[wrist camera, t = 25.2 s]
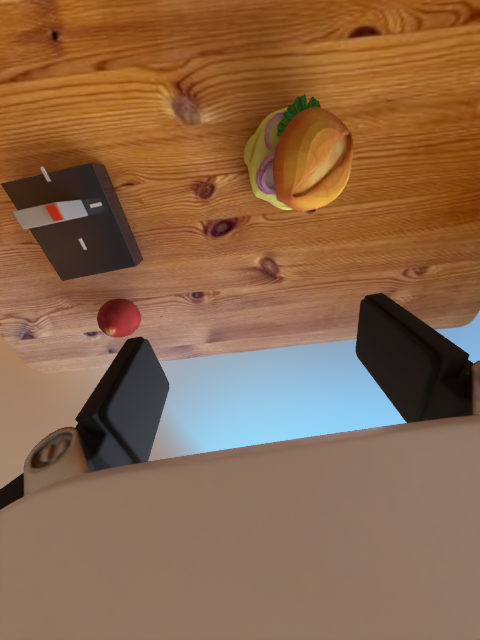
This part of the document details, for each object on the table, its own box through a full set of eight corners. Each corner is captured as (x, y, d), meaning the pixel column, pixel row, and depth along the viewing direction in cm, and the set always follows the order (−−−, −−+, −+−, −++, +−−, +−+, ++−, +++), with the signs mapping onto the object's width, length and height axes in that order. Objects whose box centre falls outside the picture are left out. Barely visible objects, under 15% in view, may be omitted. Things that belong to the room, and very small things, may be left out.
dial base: (17, 178, 28) (-5, 177, 25) (101, 158, 28) (87, 156, 25) (74, 273, 35) (61, 281, 32) (143, 259, 34) (135, 266, 31)
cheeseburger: (253, 92, 25) (297, 56, 17) (329, 130, 29) (393, 115, 21) (231, 193, 30) (257, 203, 22) (298, 214, 34) (341, 228, 26)
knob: (50, 223, 28) (20, 230, 24) (41, 207, 27) (9, 211, 23) (88, 215, 28) (65, 220, 24) (81, 199, 27) (54, 201, 23)
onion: (114, 320, 39) (90, 349, 32) (107, 289, 36) (78, 314, 29) (148, 322, 40) (132, 351, 33) (144, 291, 37) (125, 316, 30)
